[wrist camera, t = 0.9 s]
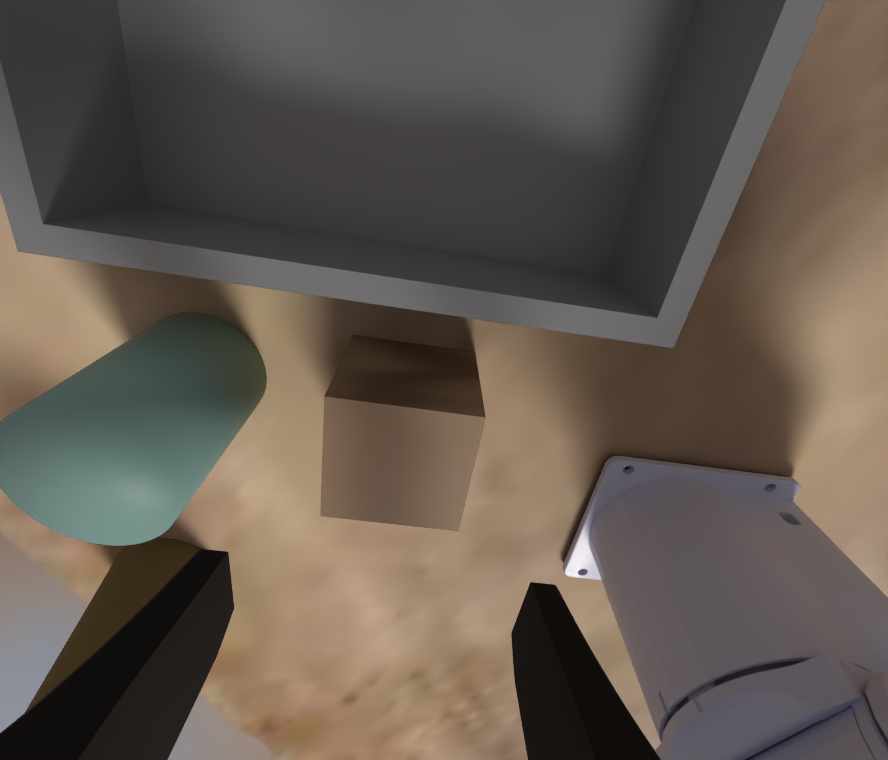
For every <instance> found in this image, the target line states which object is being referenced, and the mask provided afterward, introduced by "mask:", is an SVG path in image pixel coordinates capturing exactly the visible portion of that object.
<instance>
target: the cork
mask: <svg viewBox="0 0 888 760" xmlns="http://www.w3.org/2000/svg"><path fill="white" fill-rule="evenodd" d="M199 550H201V549H199V548H197V547H195V546H193V545H191V544H187V543H184V542H180V541H177V540H173V539H161V538H155V539H152V540H149V541H147V542H143V543H139V544H134V545H128V546H126V547H125V548H124V549H123V550H122V551H121V552H120V554H119V555H118V556H117V558H116V560H115V561H114V563H113V565H112V566H111V568H110V570H109V571H108V573H107V575H106V576H105V578H104V580H103V582H102V583H101V585H100V587H99V588H98V590H97V592H96V593H95V595H94V597H93V598H92V600H91V602H90V604H89V605H88V607H87V609H86V610H85V612H84V614H83V616H82V617H81V619H80V621H79V622H78V624H77V626H76V627H75V629H74V631H73V632H72V634H71V636H70V638H69V639H68V641H67V643H66V644H65V646H64V648H63V649H62V651H61V653H60V654H59V656H58V658H57V660H56V661H55V663H54V664H53V666H52V668H51V670H50V671H49V673H48V675H47V676H46V678H45V680H44V681H43V683H42V685H41V686H40V688H39V690H38V692H37V693H36V695H35V697H34V698H33V700H32V702H31V703H30V705H29V707H28V709H27V710H26V712H27V711H28V710H29V709H31V708H32V707H33V706H34V705H35V704H37V703H38V702H39V701H40V700H41V699H42V698H44V697H45V696H46V695H47V694H48V693H49V692H51V691H52V690H53V689H54V688H55V687H56V686H58V685H59V684H60V683H61V682H62V681H63V680H64V679H65V678H67V677H68V676H69V675H70V674H71V673H72V672H73V671H74V670H76V669H77V668H78V667H79V666H80V665H81V664H82V663H83V662H85V661H86V660H87V659H88V658H89V657H90V656H91V655H92V654H94V653H95V652H96V651H97V650H98V649H99V648H100V647H101V646H102V645H103V644H105V643H106V642H107V641H108V640H109V639H110V638H111V637H112V636H113V635H114V634H115V633H116V632H117V631H118V630H119V629H120V628H121V627H122V626H124V625H125V624H126V623H127V622H128V621H129V620H130V619H131V618H132V617H133V616H134V615H135V614H136V613H137V612H138V611H139V610H140V609H141V608H142V607H143V606H144V605H145V604H146V603H147V602H148V601H149V600H150V599H151V598H152V597H153V596H154V595H155V594H156V593H157V592H158V591H159V590H160V589H161V588H162V587H163V586H164V585H165V584H166V583H167V582H168V581H169V580H170V579H171V578H172V577H173V576H174V575H175V574H176V573H177V572H178V571H179V570H180V569H181V568H182V567H183V566H184V565H185V564H186V563H187V562H188V561H189V560H190V559H191V557H192V556H193V555H194V554H195V553H196V552H198V551H199ZM26 712H25V713H26Z"/></svg>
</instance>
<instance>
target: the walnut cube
mask: <svg viewBox="0 0 888 760" xmlns="http://www.w3.org/2000/svg"><path fill="white" fill-rule="evenodd" d="M485 418H486V417H485V411H484V405H483V398H482V392H481V386H480V380H479V373H478V367H477V361H476V354H475V352H470V351H463V350H456V349H449V348H442V347H435V346H428V345H421V344H414V343H407V342H400V341H393V340H386V339H378V338H371V337H364V336H357V335H353V337H352V339H351V341H350V343H349V345H348V347H347V349H346V352H345V354H344V356H343V358H342V360H341V362H340V364H339V367H338V369H337V371H336V373H335V375H334V377H333V379H332V382H331V384H330V386H329V388H328V390H327V392H326V394H325V398H324V427H323V457H322V486H321V516H325V517H334V518H343V519H352V520H361V521H370V522H379V523H389V524H398V525H407V526H416V527H425V528H434V529H443V530H452V531H459V527H460V522H461V518H462V514H463V510H464V506H465V501H466V497H467V493H468V489H469V485H470V480H471V476H472V472H473V468H474V464H475V460H476V455H477V451H478V447H479V443H480V439H481V434H482V430H483V426H484V422H485Z"/></svg>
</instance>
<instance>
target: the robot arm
mask: <svg viewBox="0 0 888 760" xmlns="http://www.w3.org/2000/svg"><path fill="white" fill-rule="evenodd" d="M627 466H630V467H629V468H628V469H624V468H625V467H627ZM799 490H800V484H799V483H798V482H797V481H796V480H795V479H793V478H790V477H783V476H775V475H767V474H759V473H751V472H743V471H735V470H727V469H720V468H712V467H704V466H696V465H688V464H680V463H672V462H664V461H656V460H649V459H641V458H633V457H625V456H613V457H611V458H609V459H608V460H607V461H606V463H605V465H604V467H603V470H602V472H601V474H600V477H599V479H598V482H597V484H596V486H595V489H594V491H593V494H592V496H591V499H590V501H589V503H588V506H587V508H586V511H585V513H584V515H583V518H582V520H581V523H580V525H579V527H578V530H577V532H576V535H575V537H574V540H573V542H572V544H571V547H570V549H569V552H568V554H567V556H566V559H565V561H564V564H563V570H564V573H565V574H566V575H567V576H570V577H578V578H587V579H597V580H602V583H603V585H604V588H605V591H606V594H607V596H608V599H609V602H610V605H611V607H612V610H613V613H614V615H615V618H616V621H617V624H618V626H619V629H620V632H621V635H622V637H623V640H624V643H625V645H626V648H627V651H628V654H629V656H630V659H631V662H632V665H633V667H634V670H635V673H636V676H637V678H638V681H639V684H640V686H641V689H642V692H643V695H644V697H645V700H646V703H647V706H648V708H649V711H650V714H651V716H652V719H653V722H654V725H655V727H656V730H657V733H658V736H659V738H660V741H661V744H660V745H659V747H658V748H657V749H656V750H654V749H653V747H652V746H651V744H650V743H649V741H648V740H647V739H646V737H645V736H644V734H643V733H642V731H641V730H640V728H639V726H638V725H637V723H636V722H635V720H634V719H633V717H632V716H631V714H630V713H629V711H628V710H627V708H626V707H625V705H624V703H623V702H622V700H621V699H620V697H619V695H618V694H617V692H616V691H615V689H614V687H613V686H612V684H611V682H610V681H609V679H608V677H607V676H606V674H605V672H604V671H603V669H602V667H601V666H600V664H599V662H598V661H597V659H596V657H595V656H594V654H593V652H592V650H591V649H590V647H589V645H588V643H587V642H586V640H585V638H584V636H583V634H582V633H581V631H580V629H579V627H578V626H577V624H576V622H575V620H574V618H573V616H572V614H571V613H570V611H569V609H568V607H567V605H566V603H565V601H564V599H563V598H562V596H561V594H560V592H559V590H558V588H557V587H556V586H555V585H552V584H542V583H532V582H530V585H529V588H528V590H527V593H526V596H525V598H524V601H523V604H522V606H521V609H520V612H519V615H518V617H517V620H516V623H515V625H514V628H513V631H512V649H513V664H514V677H515V685H516V691H517V697H518V703H519V709H520V715H521V721H522V727H523V733H524V738H525V744H526V750H527V756H528V760H888V597H887V596H886V595H885V594H884V593H883V592H882V591H881V590H880V589H879V588H878V587H877V586H876V585H875V584H874V583H873V582H872V581H871V580H870V579H869V578H868V577H867V576H866V575H865V574H864V573H863V572H862V571H861V570H860V569H859V568H858V567H857V566H856V565H855V564H854V563H853V562H852V561H851V560H850V559H849V558H848V557H847V556H846V555H845V554H844V553H843V552H842V551H841V550H840V549H839V548H838V547H837V546H836V545H835V544H834V543H833V542H832V541H831V539H830V538H829V537H828V536H827V535H826V534H825V533H824V532H823V531H822V530H821V529H820V528H819V527H818V526H817V525H816V524H815V523H814V522H813V521H812V520H811V519H810V518H809V517H808V516H807V515H806V514H805V513H804V512H803V511H802V510H801V509H800V508H799V507H798V506H797V505H796V504H795V503H794V502H793V501H792V500H793V499H794V498H795V496H796V495H797V493H798V492H799ZM233 610H234V602H233V593H232V583H231V574H230V564H229V555H228V552H225V551H215V550H205V549H201V550H199V551H198V552H196V553H195V554H194V555H193V556H192V557H191V559H190V560H189V561H188V562H187V563H186V564H185V565H184V566H183V567H182V568H181V569H180V570H179V571H178V572H177V573H176V574H175V575H174V576H173V577H172V578H171V579H170V580H169V581H168V582H167V583H166V584H165V585H164V586H163V587H162V588H161V589H160V590H159V591H158V592H157V593H156V594H155V595H154V596H153V597H152V598H151V599H150V600H149V601H148V602H147V603H146V604H145V605H144V606H143V607H142V608H141V609H140V610H139V611H138V612H137V613H136V614H135V615H134V616H133V617H132V618H131V619H130V620H129V621H128V622H127V623H126V624H125V625H124V626H122V627H121V628H120V629H119V630H118V631H117V632H116V633H115V634H114V635H113V636H112V637H111V638H110V639H109V640H108V641H107V642H106V643H105V644H103V645H102V646H101V647H100V648H99V649H98V650H97V651H96V652H95V653H94V654H92V655H91V656H90V657H89V658H88V659H87V660H86V661H85V662H83V663H82V664H81V665H80V666H79V667H78V668H77V669H76V670H74V671H73V672H72V673H71V674H70V675H69V676H68V677H67V678H65V679H64V680H63V681H62V682H61V683H60V684H59V685H58V686H56V687H55V688H54V689H53V690H52V691H51V692H49V693H48V694H47V695H46V696H45V697H44V698H42V699H41V700H40V701H39V702H38V703H37V704H35V705H34V706H33V707H32V708H31V709H29V710H28V711H27V712H26V713H25V714H23V715H22V716H21V717H20V718H18V719H17V720H16V721H15V722H14V723H12V724H11V725H10V726H9V727H7V728H6V729H5V730H4V731H2V732H1V733H0V760H167V759H168V757H169V755H170V753H171V751H172V749H173V747H174V745H175V743H176V741H177V739H178V736H179V734H180V732H181V730H182V728H183V726H184V724H185V722H186V720H187V718H188V715H189V714H190V711H191V709H192V707H193V705H194V703H195V701H196V699H197V697H198V695H199V693H200V691H201V688H202V686H203V684H204V682H205V680H206V678H207V676H208V674H209V672H210V669H211V667H212V665H213V663H214V661H215V659H216V657H217V654H218V651H219V649H220V646H221V643H222V641H223V638H224V635H225V632H226V630H227V627H228V624H229V621H230V618H231V615H232V612H233Z"/></svg>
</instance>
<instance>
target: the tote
mask: <svg viewBox="0 0 888 760" xmlns="http://www.w3.org/2000/svg"><path fill="white" fill-rule="evenodd" d="M825 1H826V0H0V192H1V195H2V198H3V202H4V205H5V209H6V212H7V216H8V219H9V222H10V226H11V229H12V233H13V236H14V239H15V243H16V246H17V250H18V252H25V253H32V254H38V255H45V256H52V257H59V258H65V259H72V260H79V261H86V262H92V263H99V264H106V265H113V266H120V267H126V268H133V269H140V270H147V271H153V272H160V273H167V274H174V275H180V276H187V277H194V278H201V279H208V280H214V281H221V282H228V283H235V284H241V285H248V286H255V287H262V288H268V289H275V290H282V291H289V292H296V293H302V294H309V295H316V296H323V297H329V298H336V299H343V300H350V301H356V302H363V303H370V304H377V305H384V306H390V307H397V308H404V309H411V310H417V311H424V312H431V313H438V314H445V315H451V316H458V317H465V318H472V319H478V320H485V321H492V322H499V323H505V324H512V325H519V326H526V327H533V328H539V329H546V330H553V331H560V332H566V333H573V334H580V335H587V336H593V337H600V338H607V339H614V340H621V341H627V342H634V343H641V344H648V345H654V346H661V347H668V348H674V346H675V343H676V341H677V339H678V336H679V334H680V332H681V330H682V327H683V325H684V323H685V321H686V318H687V316H688V314H689V311H690V309H691V307H692V305H693V302H694V300H695V298H696V295H697V293H698V291H699V289H700V286H701V284H702V282H703V279H704V277H705V275H706V273H707V270H708V268H709V266H710V263H711V261H712V259H713V257H714V254H715V252H716V250H717V248H718V245H719V243H720V241H721V238H722V236H723V234H724V232H725V229H726V227H727V225H728V222H729V220H730V218H731V216H732V213H733V211H734V209H735V206H736V204H737V202H738V200H739V197H740V195H741V193H742V191H743V188H744V186H745V184H746V181H747V179H748V177H749V175H750V172H751V170H752V168H753V165H754V163H755V161H756V159H757V156H758V154H759V152H760V149H761V147H762V145H763V143H764V140H765V138H766V136H767V134H768V131H769V129H770V127H771V124H772V122H773V120H774V118H775V115H776V113H777V111H778V108H779V106H780V104H781V102H782V99H783V97H784V95H785V92H786V90H787V88H788V86H789V83H790V81H791V79H792V76H793V74H794V72H795V70H796V67H797V65H798V63H799V61H800V58H801V56H802V54H803V51H804V49H805V47H806V45H807V42H808V40H809V38H810V35H811V33H812V31H813V29H814V26H815V24H816V22H817V19H818V17H819V15H820V13H821V10H822V8H823V6H824V4H825Z"/></svg>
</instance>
